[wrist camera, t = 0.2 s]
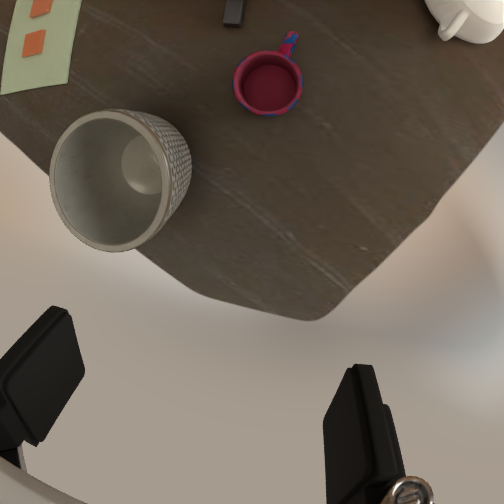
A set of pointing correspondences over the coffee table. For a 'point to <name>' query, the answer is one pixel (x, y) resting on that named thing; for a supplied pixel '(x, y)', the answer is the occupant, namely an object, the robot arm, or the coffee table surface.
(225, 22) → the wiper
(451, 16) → the teapot
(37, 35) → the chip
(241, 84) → the cup
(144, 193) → the planter
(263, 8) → the coffee table surface
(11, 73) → the mat
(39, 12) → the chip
